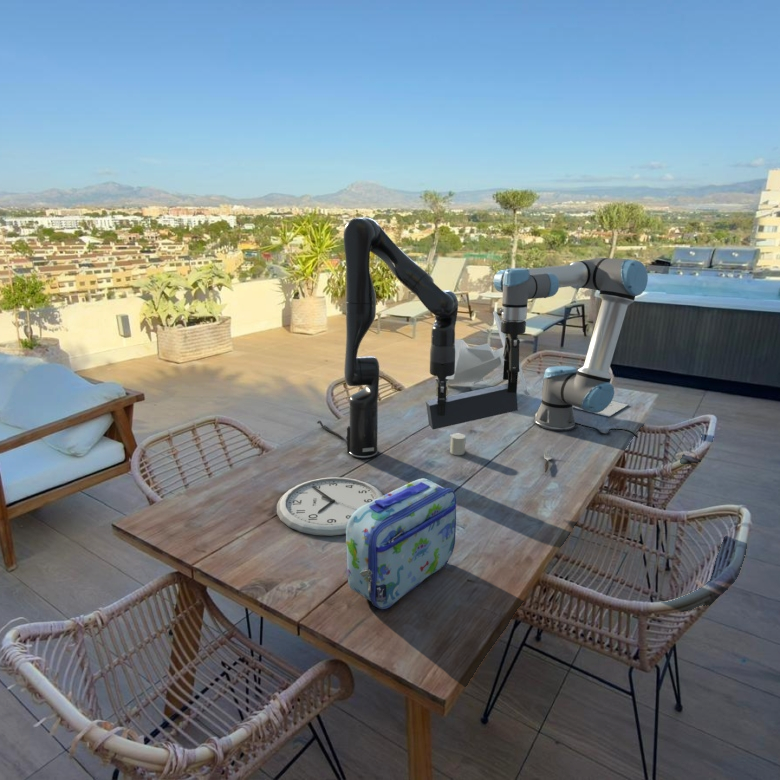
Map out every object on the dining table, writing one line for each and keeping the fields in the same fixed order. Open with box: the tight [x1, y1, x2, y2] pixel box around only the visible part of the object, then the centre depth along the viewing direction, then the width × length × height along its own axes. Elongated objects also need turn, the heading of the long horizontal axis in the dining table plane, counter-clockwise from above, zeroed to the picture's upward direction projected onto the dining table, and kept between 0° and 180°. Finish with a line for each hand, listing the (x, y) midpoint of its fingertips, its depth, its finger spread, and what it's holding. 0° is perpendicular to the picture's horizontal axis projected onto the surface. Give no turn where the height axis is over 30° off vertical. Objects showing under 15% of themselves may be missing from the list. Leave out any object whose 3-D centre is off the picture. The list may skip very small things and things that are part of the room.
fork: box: [543, 448, 554, 473], centre depth 170 cm, size 3×16×2 cm, turn 160°
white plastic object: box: [446, 310, 531, 397], centre depth 245 cm, size 37×45×31 cm
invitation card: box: [573, 400, 629, 418], centre depth 226 cm, size 21×1×15 cm
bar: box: [425, 382, 519, 430], centre depth 163 cm, size 28×4×8 cm, turn 102°
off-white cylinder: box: [449, 432, 467, 456], centre depth 177 cm, size 5×5×6 cm
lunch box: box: [345, 477, 457, 610], centre depth 110 cm, size 26×11×21 cm, turn 134°
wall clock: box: [276, 476, 385, 537], centre depth 142 cm, size 30×2×30 cm
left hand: (441, 411), depth 162 cm, fingers closed on bar, 5 cm apart
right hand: (509, 385), depth 168 cm, fingers open, 13 cm apart
